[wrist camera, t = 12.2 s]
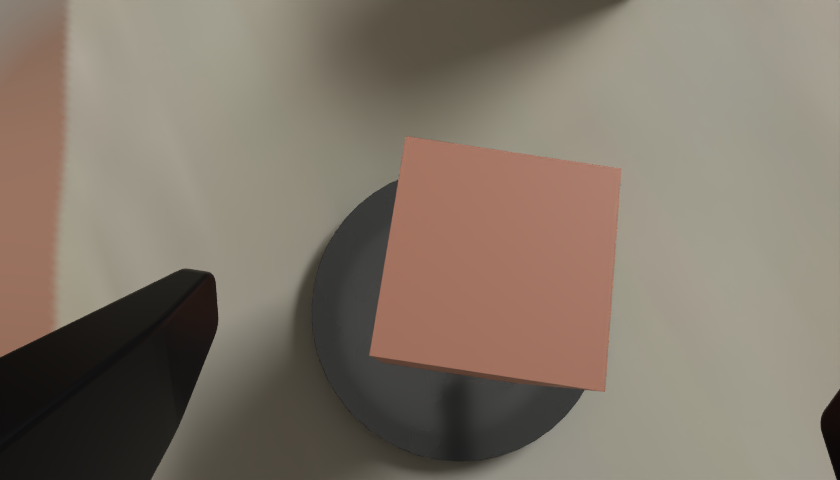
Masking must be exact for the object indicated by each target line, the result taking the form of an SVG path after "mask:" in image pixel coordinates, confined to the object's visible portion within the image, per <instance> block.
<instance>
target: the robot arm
mask: <svg viewBox="0 0 840 480" xmlns="http://www.w3.org/2000/svg"><path fill="white" fill-rule="evenodd" d="M217 326H218V307H217V293H216V282H215V278H214V276H213V275H212V274H211V273H210V272H206V271H200V270H193V269H181V270H179V271H176V272H174V273H172V274H170V275H168V276H166V277H164V278H162V279H160V280H158V281H156V282H154V283H152V284H150V285H148V286H146V287H144V288H142V289H140V290H137V291H135V292H133V293H131V294H129V295H127V296H125V297H123V298H121V299H119V300H117V301H115V302H113V303H111V304H109V305H107V306H105V307H103V308H101V309H99V310H96V311H94V312H92V313H90V314H88V315H86V316H84V317H82V318H80V319H78V320H76V321H74V322H72V323H70V324H68V325H66V326H64V327H62V328H60V329H57V330H55V331H53V332H51V333H49V334H47V335H45V336H43V337H41V338H39V339H37V340H35V341H33V342H31V343H29V344H27V345H25V346H23V347H21V348H18V349H16V350H15V351H12V352H10V353H8V354H6V355H4V356H2V357H0V480H151V478H152V477H153V475H154V473H155V471H156V469H157V467H158V465H159V463H160V462H161V460H162V458H163V456H164V454H165V452H166V450H167V449H168V447H169V445H170V443H171V441H172V439H173V437H174V435H175V433H176V431H177V429H178V427H179V424H180V422H181V420H182V417H183V415H184V413H185V410H186V407H187V405H188V402H189V400H190V397H191V395H192V392H193V390H194V387H195V385H196V382H197V380H198V377H199V375H200V372H201V370H202V367H203V365H204V362H205V359H206V357H207V354H208V352H209V349H210V347H211V344H212V342H213V339H214V337H215V334H216V331H217ZM821 431H822V435H823V438H824V441H825V444H826V447H827V451H828V454H829V457H830V460H831V463H832V466H833V470H834V473H835V476H836V479H837V480H840V389H839V391H838V392H837V394H836V395H835V396H834V398H833V399H832V400H831V402H830V403H829V405H828V406H827V407H826V409H825V410H824V412H823V414H822V417H821Z"/></svg>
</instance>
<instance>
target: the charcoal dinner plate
mask: <svg viewBox="0 0 840 480" xmlns="http://www.w3.org/2000/svg"><path fill="white" fill-rule="evenodd" d="M397 186H398V180H397V181H394V182H392V183H390V184H388V185H386V186H385V187H383V188H381V189H380V190H378V191H376V192H375V193H373V194H372V195H371V196H369V197H368V198H367V199H365V200H364V201H363V202H362V203H360V204H359V205H358V206H357V207H356V208H355V209H354V210H353V211H352V212H351V213H350V214H349V215H348V216H347V217H346V219H345V220H344V221H343V223H342V224H341V225H340V227H339V228H338V229H337V231H336V232H335V234H334V236H333V237H332V239H331V241H330V243H329V244H328V246H327V248H326V250H325V253H324V255H323V258H322V260H321V262H320V265H319V268H318V272H317V276H316V280H315V284H314V291H313V299H312V326H313V333H314V340H315V345H316V348H317V352H318V355H319V359H320V362H321V364H322V367H323V369H324V371H325V374H326V376H327V378H328V380H329V382H330V384H331V385H332V387H333V389H334V391H335V392H336V394H337V396H338V397H339V398H340V400H341V401H342V402H343V403H344V405H345V406H346V407H347V408H348V410H349V411H350V412H351V413H352V414H353V415H354V416H355V417H356V418H357V419H358V420H359V421H360V422H361V423H362V424H363V425H364V426H365V427H367V428H368V429H369V430H371V431H372V432H374V433H375V434H376V435H378V436H379V437H380V438H382V439H384V440H385V441H387V442H389V443H391V444H393V445H395V446H397V447H398V448H401V449H403V450H406V451H409V452H411V453H414V454H417V455H420V456H424V457H429V458H433V459H437V460H448V461H474V460H483V459H488V458H493V457H498V456H501V455H504V454H507V453H510V452H512V451H515V450H518V449H520V448H522V447H524V446H526V445H528V444H530V443H532V442H533V441H535V440H537V439H538V438H540V437H541V436H542V435H544V434H545V433H547V432H548V431H549V430H551V429H552V428H553V427H554V426H555V425H556V424H557V423H558V422H560V421H561V420H562V419H563V418H564V417H565V416H566V415H567V414H568V412H569V411H570V410H571V409H572V407H573V406H574V405H575V404H576V402H577V401H578V400H579V398H580V396H581V395H582V393H583V391H584V390H582V389H571V388H560V387H550V386H539V385H528V384H518V383H511V382H505V381H498V380H492V379H485V378H479V377H472V376H465V375H459V374H452V373H446V372H439V371H433V370H426V369H420V368H413V367H407V366H400V365H394V364H387V363H383V362H381V361H379V360H377V359H375V358H373V357H371V356H369V354H370V348H371V342H372V336H373V330H374V324H375V318H376V312H377V306H378V300H379V294H380V288H381V282H382V276H383V270H384V264H385V258H386V252H387V246H388V240H389V234H390V228H391V222H392V216H393V210H394V204H395V198H396V192H397Z"/></svg>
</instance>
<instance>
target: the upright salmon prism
mask: <svg viewBox="0 0 840 480" xmlns="http://www.w3.org/2000/svg"><path fill="white" fill-rule="evenodd" d="M620 179H621V169H619V168H613V167H606V166H600V165H593V164H586V163H580V162H573V161H566V160H560V159H553V158H547V157H540V156H533V155H527V154H520V153H514V152H507V151H500V150H494V149H487V148H481V147H474V146H467V145H461V144H454V143H447V142H441V141H434V140H428V139H421V138H414V137H408V136H406V138H405V144H404V150H403V156H402V162H401V168H400V174H399V180H398V186H397V192H396V198H395V204H394V210H393V216H392V222H391V228H390V234H389V240H388V246H387V252H386V258H385V264H384V270H383V276H382V282H381V288H380V294H379V300H378V306H377V312H376V318H375V324H374V330H373V336H372V342H371V348H370V354H369V356H371V357H373V358H375V359H377V360H379V361H381V362H383V363H387V364H394V365H400V366H407V367H413V368H420V369H426V370H433V371H439V372H446V373H452V374H459V375H465V376H472V377H479V378H485V379H492V380H498V381H505V382H511V383H518V384H528V385H539V386H550V387H560V388H571V389H582V390H592V391H603V392H605V385H606V371H607V357H608V344H609V330H610V316H611V302H612V289H613V275H614V261H615V248H616V234H617V220H618V207H619V193H620Z"/></svg>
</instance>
